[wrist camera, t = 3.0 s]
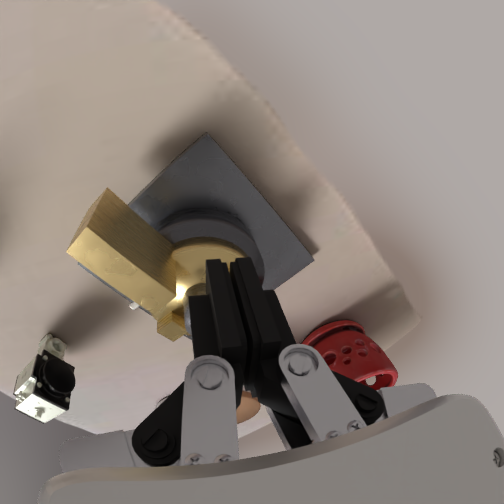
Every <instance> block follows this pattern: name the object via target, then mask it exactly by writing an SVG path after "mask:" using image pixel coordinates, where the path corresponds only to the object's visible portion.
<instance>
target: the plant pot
mask: <svg viewBox="0 0 504 504" xmlns="http://www.w3.org/2000/svg"><path fill="white" fill-rule="evenodd" d="M302 344H305V345H308V346H311V347H312V348H314V349H315V350H317V351H318V352H319V354H320V355H321V356H322V358H323V359H324V361H325V362H326V364H327V365H328V367H329V368H330V369H331V370H333V371H335V372H337V373H339V374H342V375H344V376H346V377H348V378H350V379H353V380H355V381H357V382H359V383H362V384H364V385H366V386H369V387H371V388H373V389H374V390H380V388H383V387H393V386H394V385H395V383H396V381H397V378H398V372H397V370H396V368H395V367H394V365H393V364H392V362H391V361H390V360H389V358H388V357H387V356H386V354H385V353H384V351H383V350H382V349H381V348H380V347H379V346H378V345H377V344H376V343H375V342H374V341H373V340H372V339H370V338H369V337H367V336H366V335H365V331H364V329H363V327H362V326H361V325H360V324H358V323H356V322H354V321H349V320H341V321H336V322H332V323H329V324H326V325H324V326H322V327H320V328H318V329H317V330H315V331H314V332H312V333H311V334H310V335H309V336H308V337H307V338H306V339H305V340H304V341H303V343H302ZM382 374H383V375H382ZM372 376H376V382H375V383H374V384H373V385H368V384H367V383H366V380H365V379H367V378H369V377H372Z"/></svg>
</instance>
